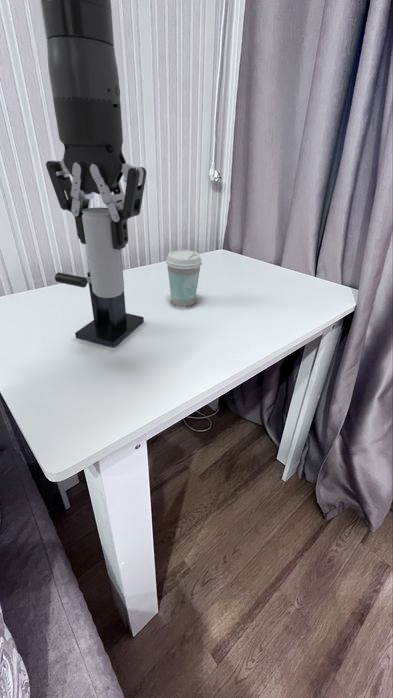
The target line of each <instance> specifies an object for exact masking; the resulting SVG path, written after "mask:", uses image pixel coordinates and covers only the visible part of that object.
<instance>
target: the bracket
mask: <svg viewBox="0 0 393 698" xmlns="http://www.w3.org/2000/svg"><path fill="white" fill-rule="evenodd" d="M86 275H87V277H91V276H90V271H88V272H86ZM88 286H89V287H88V288H89V295H90V303H91V309H92V315H93V316H92V317H93V320H91V321H89V323H87V324H86V325H84V326H83V327H82V328H80V329H79V330H77V331H75V333H74V334H75V338H76V339H79V340H84V341H86V342H91V343H94V344H97V345H101V346H106V347H109V348H116V347H117V346H118V345H119V344H120V343H121V342H122V341H124V340H125V339H126V338H127V337H128V336H129V335H130V334H132V333H133V332H134V331H135V330H136V329H137V328H138V327H139V326H140V325H142V324H144V322H145V319H144V318H145V317H144V316H141V315H138V314H132V313H129V312H128V313H127V310H126V308H127V307H126V296H125V290H124V291H123V292H122V294H121V295H119V296H116V297H112V298H102V297H98V296H97V295H95V294H94V293H93V290H92V283H88Z"/></svg>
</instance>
